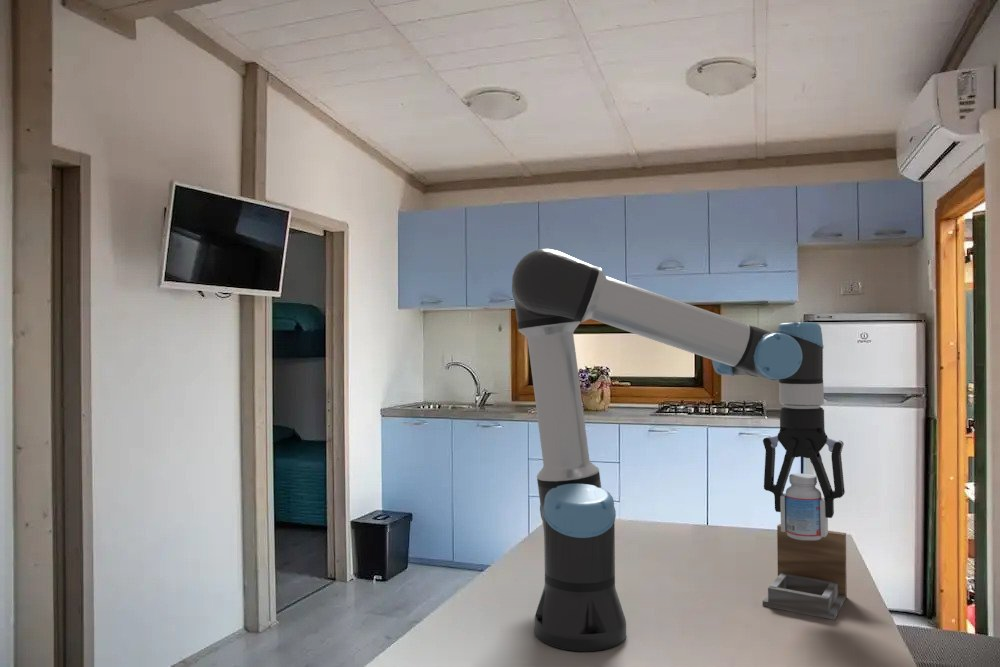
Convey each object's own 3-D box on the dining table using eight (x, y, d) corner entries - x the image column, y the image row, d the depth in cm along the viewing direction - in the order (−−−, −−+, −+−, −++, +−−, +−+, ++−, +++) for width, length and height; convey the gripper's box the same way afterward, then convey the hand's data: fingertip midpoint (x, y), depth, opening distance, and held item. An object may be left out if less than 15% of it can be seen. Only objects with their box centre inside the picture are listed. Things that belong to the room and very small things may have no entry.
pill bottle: (826, 542, 127) (825, 479, 127) (790, 540, 128) (788, 478, 128) (818, 533, 133) (816, 472, 133) (783, 532, 134) (782, 472, 134)
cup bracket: (834, 619, 123) (833, 550, 123) (762, 605, 130) (761, 539, 130) (846, 597, 134) (845, 533, 134) (779, 585, 140) (779, 524, 141)
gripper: (862, 406, 129) (865, 534, 128) (753, 402, 139) (756, 521, 139) (855, 410, 122) (859, 545, 122) (742, 406, 133) (745, 530, 133)
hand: (804, 532), depth 131 cm, fingers closed on pill bottle, 6 cm apart
